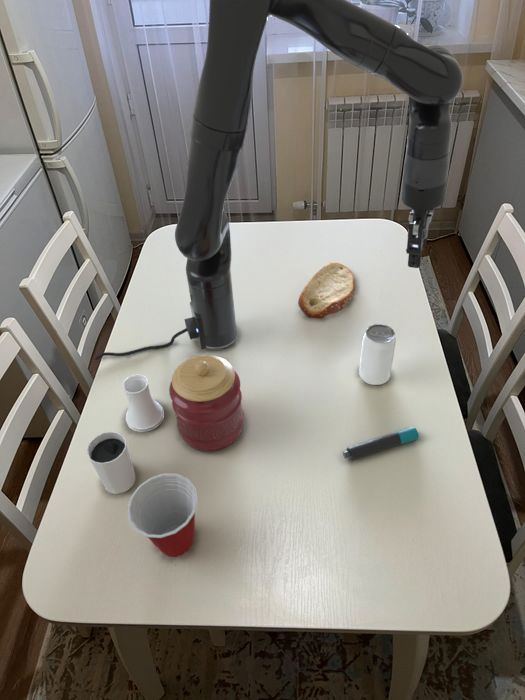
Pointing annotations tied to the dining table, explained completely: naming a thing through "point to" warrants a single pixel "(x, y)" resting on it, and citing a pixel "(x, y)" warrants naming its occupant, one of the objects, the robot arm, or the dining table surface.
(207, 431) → the kitchen canister
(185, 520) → the plastic cup
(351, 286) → the bread slice
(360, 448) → the marker
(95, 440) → the white coffee cup
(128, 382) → the vase
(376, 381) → the can
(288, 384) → the dining table surface
